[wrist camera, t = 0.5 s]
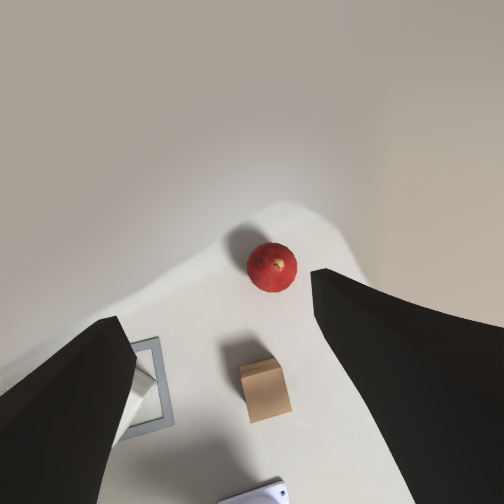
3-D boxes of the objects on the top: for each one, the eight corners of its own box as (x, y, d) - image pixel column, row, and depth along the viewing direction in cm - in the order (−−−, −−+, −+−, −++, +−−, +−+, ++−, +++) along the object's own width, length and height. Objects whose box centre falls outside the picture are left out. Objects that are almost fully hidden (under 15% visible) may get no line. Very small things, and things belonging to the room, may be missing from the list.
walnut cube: (283, 394, 31) (292, 411, 27) (247, 404, 30) (250, 423, 26) (274, 356, 32) (281, 367, 27) (239, 366, 31) (240, 378, 27)
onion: (238, 282, 33) (241, 278, 25) (254, 242, 34) (262, 226, 26) (280, 299, 33) (295, 300, 25) (295, 258, 34) (314, 247, 26)
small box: (88, 401, 29) (59, 423, 24) (117, 356, 30) (96, 367, 25) (130, 427, 29) (110, 453, 24) (158, 380, 30) (144, 397, 25)
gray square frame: (174, 424, 29) (173, 425, 29) (84, 450, 28) (83, 451, 28) (159, 337, 31) (158, 337, 31) (72, 359, 30) (71, 359, 29)
